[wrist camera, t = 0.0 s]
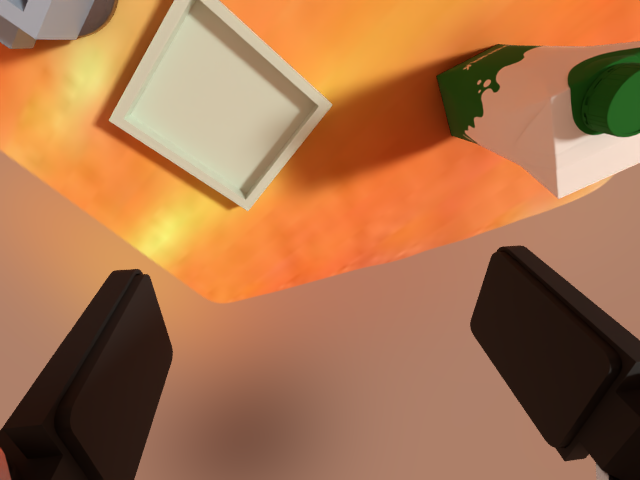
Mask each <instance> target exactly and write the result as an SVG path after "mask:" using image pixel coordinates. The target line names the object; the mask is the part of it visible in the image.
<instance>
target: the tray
mask: <svg viewBox="0 0 640 480" xmlns="http://www.w3.org/2000/svg"><path fill="white" fill-rule="evenodd" d="M331 106H332V104H331V103H330V101H328V100H327V99H326V98H325V97H324V96H323V95H322V94H321V93H320V92H319V91H318V90H316V89H315V88H314V87H313V86H312V85H311V84H310V83H309V82H308V81H307V80H306V79H304V78H303V77H302V76H301V75H300V74H299V73H298V72H297V71H296V70H295V69H294V68H292V67H291V66H290V65H289V64H288V63H287V62H286V61H285V60H284V59H283V58H282V57H280V56H279V55H278V54H277V53H276V52H275V51H274V50H273V49H272V48H271V47H270V46H268V45H267V44H266V43H265V42H264V41H263V40H262V39H261V38H260V37H259V36H258V35H256V34H255V33H254V32H253V31H252V30H251V29H250V28H249V27H248V26H247V25H246V24H244V23H243V22H242V21H241V20H240V19H239V18H238V17H237V16H236V15H235V14H234V13H232V12H231V11H230V10H229V9H228V8H227V7H226V6H225V5H224V4H223V3H222V2H221V1H219V0H174V1H173V3H172V5H171V7H170V9H169V11H168V12H167V14H166V16H165V18H164V20H163V22H162V23H161V25H160V27H159V29H158V31H157V33H156V34H155V36H154V38H153V40H152V42H151V44H150V45H149V47H148V49H147V51H146V53H145V55H144V56H143V58H142V60H141V62H140V64H139V66H138V67H137V69H136V71H135V73H134V75H133V76H132V78H131V80H130V82H129V84H128V86H127V87H126V89H125V91H124V93H123V95H122V97H121V98H120V100H119V102H118V104H117V106H116V108H115V109H114V111H113V113H112V115H111V117H110V119H109V120H108V121H110V122H111V123H113V124H115V125H116V126H118V127H119V128H121V129H122V130H124V131H125V132H127V133H128V134H130V135H131V136H133V137H135V138H136V139H138V140H139V141H141V142H142V143H144V144H145V145H147V146H148V147H150V148H151V149H153V150H155V151H156V152H158V153H159V154H161V155H162V156H164V157H165V158H167V159H168V160H170V161H172V162H173V163H175V164H176V165H178V166H179V167H181V168H182V169H184V170H185V171H187V172H188V173H190V174H192V175H193V176H195V177H196V178H198V179H199V180H201V181H202V182H204V183H205V184H207V185H208V186H210V187H212V188H213V189H215V190H216V191H218V192H219V193H221V194H222V195H224V196H225V197H227V198H229V199H230V200H232V201H233V202H235V203H236V204H238V205H239V206H241V207H242V208H244V209H245V210H247V211H248V210H249V209H250V208H251V207H252V205H253V204H254V203H255V202H256V200H257V199H258V198H259V197H260V195H261V194H262V193H263V192H264V190H265V189H266V188H267V187H268V185H269V184H270V183H271V182H272V180H273V179H274V178H275V177H276V175H277V174H278V173H279V172H280V170H281V169H282V168H283V167H284V165H285V164H286V163H287V162H288V160H289V159H290V158H291V157H292V155H293V154H294V153H295V152H296V150H297V149H298V148H299V147H300V145H301V144H302V143H303V142H304V140H305V139H306V138H307V137H308V135H309V134H310V133H311V132H312V130H313V129H314V128H315V126H316V125H317V124H318V123H319V121H320V120H321V119H322V118H323V116H324V115H325V114H326V113H327V111H328V110H329V109H330V108H331Z"/></svg>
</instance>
